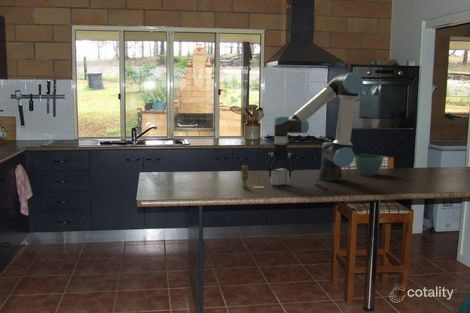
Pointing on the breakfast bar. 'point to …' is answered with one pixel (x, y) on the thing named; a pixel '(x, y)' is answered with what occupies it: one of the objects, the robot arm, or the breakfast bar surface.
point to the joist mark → (258, 187)
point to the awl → (244, 175)
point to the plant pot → (368, 164)
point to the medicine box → (279, 176)
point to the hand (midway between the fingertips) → (279, 182)
